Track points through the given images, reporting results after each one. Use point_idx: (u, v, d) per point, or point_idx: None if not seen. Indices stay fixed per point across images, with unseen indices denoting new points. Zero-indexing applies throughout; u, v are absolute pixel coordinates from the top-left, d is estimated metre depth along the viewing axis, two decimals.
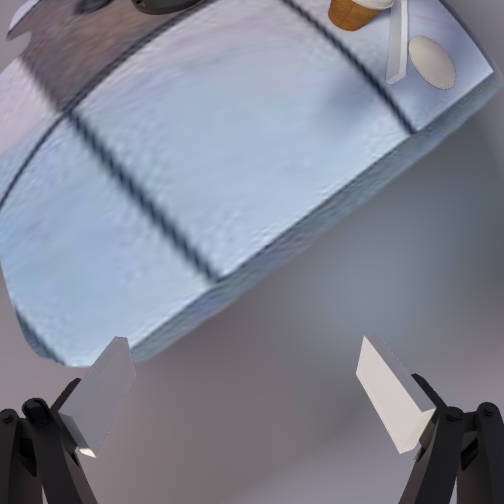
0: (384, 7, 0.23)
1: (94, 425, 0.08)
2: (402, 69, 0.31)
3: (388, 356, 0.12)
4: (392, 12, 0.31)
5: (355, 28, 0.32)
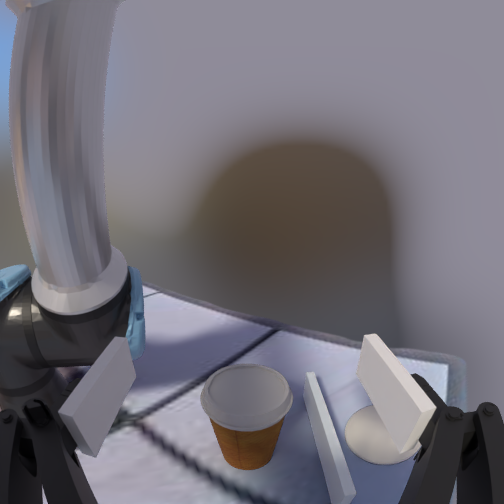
0: (280, 416, 0.23)
1: (94, 425, 0.08)
2: (348, 487, 0.18)
3: (388, 356, 0.12)
4: (308, 408, 0.35)
5: (263, 462, 0.25)
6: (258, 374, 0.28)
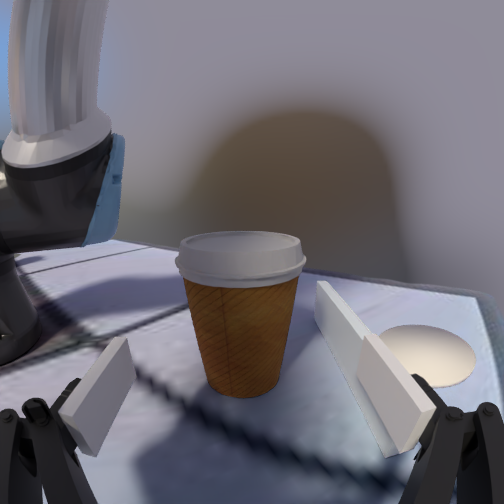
0: (290, 267, 0.17)
1: (94, 425, 0.08)
2: None
3: (388, 356, 0.12)
4: (322, 326, 0.30)
5: (266, 382, 0.20)
6: (257, 237, 0.23)
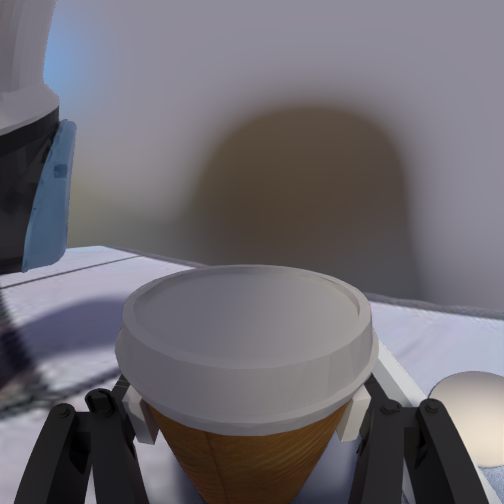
0: (361, 376, 0.07)
1: None
2: None
3: None
4: None
5: (285, 502, 0.09)
6: (276, 281, 0.12)
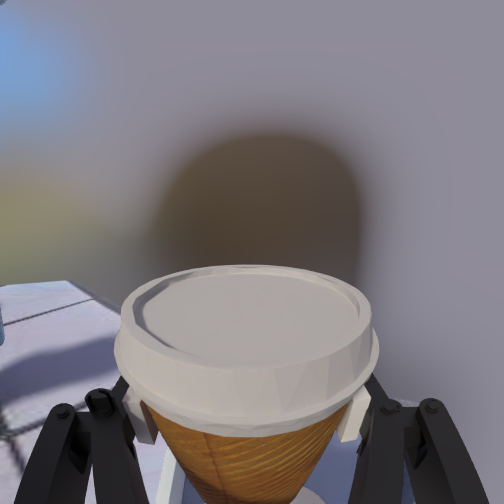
0: (360, 377, 0.07)
1: None
2: None
3: None
4: None
5: (285, 503, 0.09)
6: (276, 281, 0.12)
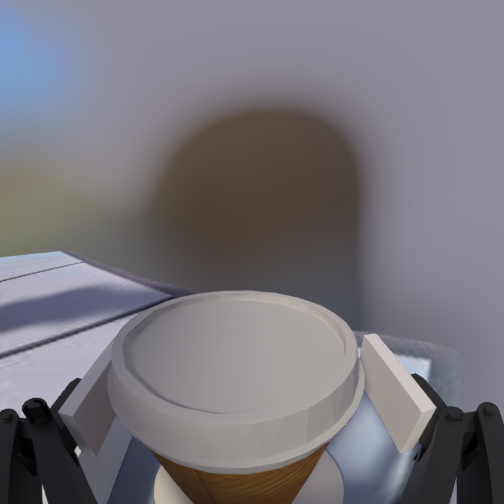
0: (342, 419, 0.06)
1: (94, 425, 0.08)
2: None
3: (388, 356, 0.12)
4: None
5: None
6: (265, 310, 0.12)
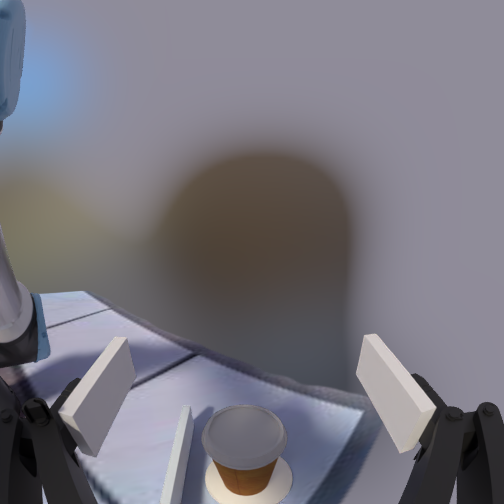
0: (275, 457, 0.22)
1: (94, 425, 0.08)
2: None
3: (388, 356, 0.12)
4: None
5: (260, 489, 0.25)
6: (255, 415, 0.28)
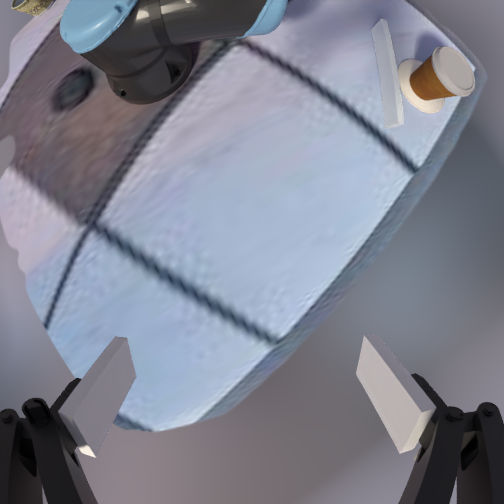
0: (469, 93, 0.29)
1: (94, 425, 0.08)
2: (400, 117, 0.36)
3: (388, 356, 0.12)
4: (375, 42, 0.36)
5: (434, 98, 0.38)
6: (459, 59, 0.27)
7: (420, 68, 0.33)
